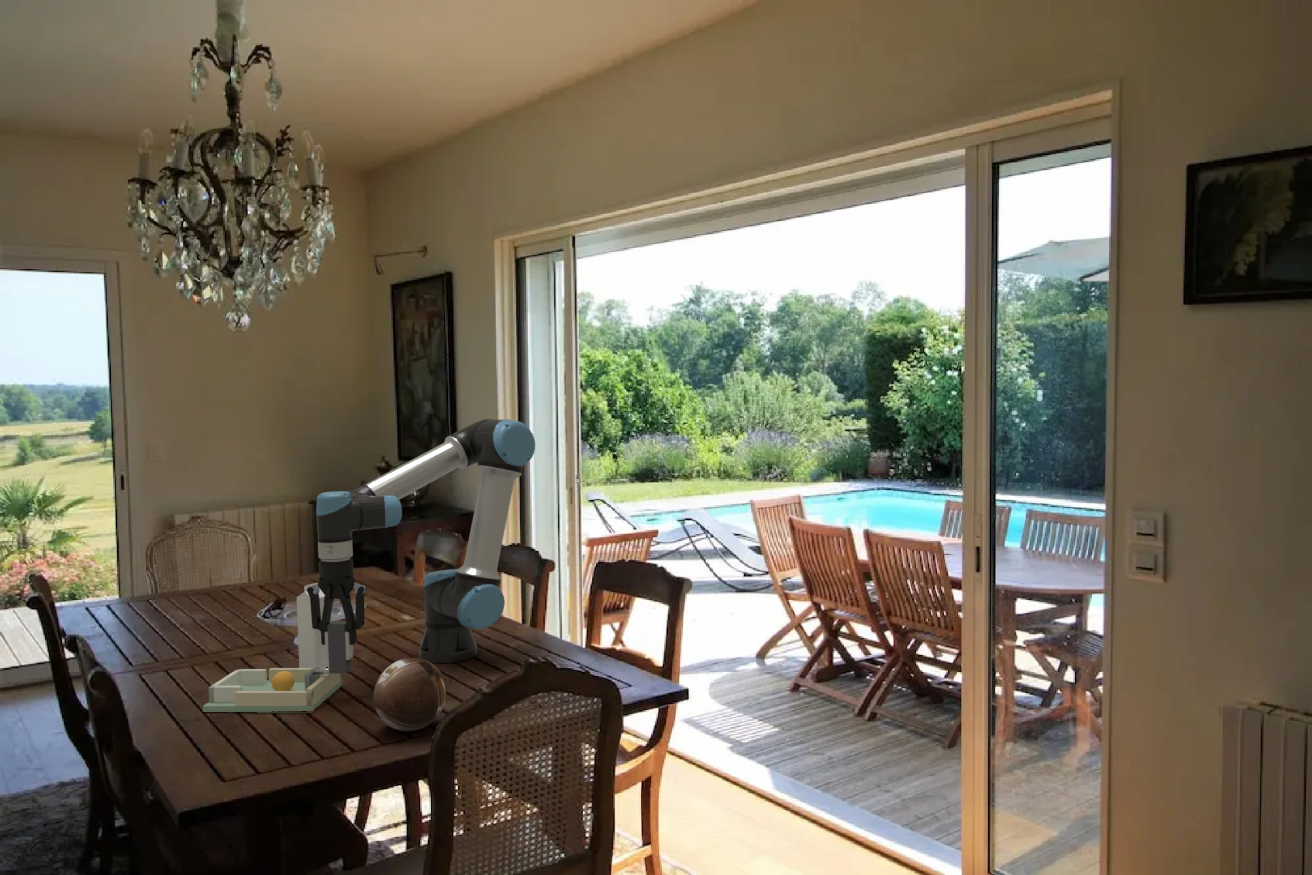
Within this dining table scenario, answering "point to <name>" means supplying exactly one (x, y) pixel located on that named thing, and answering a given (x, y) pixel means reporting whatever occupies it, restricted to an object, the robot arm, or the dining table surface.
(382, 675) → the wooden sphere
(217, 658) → the dining table surface
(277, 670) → the pitch
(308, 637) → the milk
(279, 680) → the ball
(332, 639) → the kicker rod
